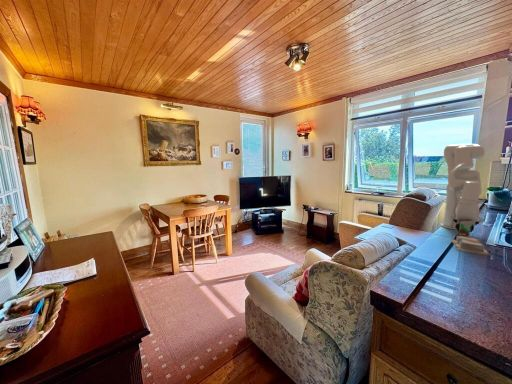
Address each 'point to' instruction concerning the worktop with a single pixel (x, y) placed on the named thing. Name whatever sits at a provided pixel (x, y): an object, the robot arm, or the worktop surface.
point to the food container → (465, 228)
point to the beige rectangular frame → (469, 245)
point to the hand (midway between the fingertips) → (464, 230)
